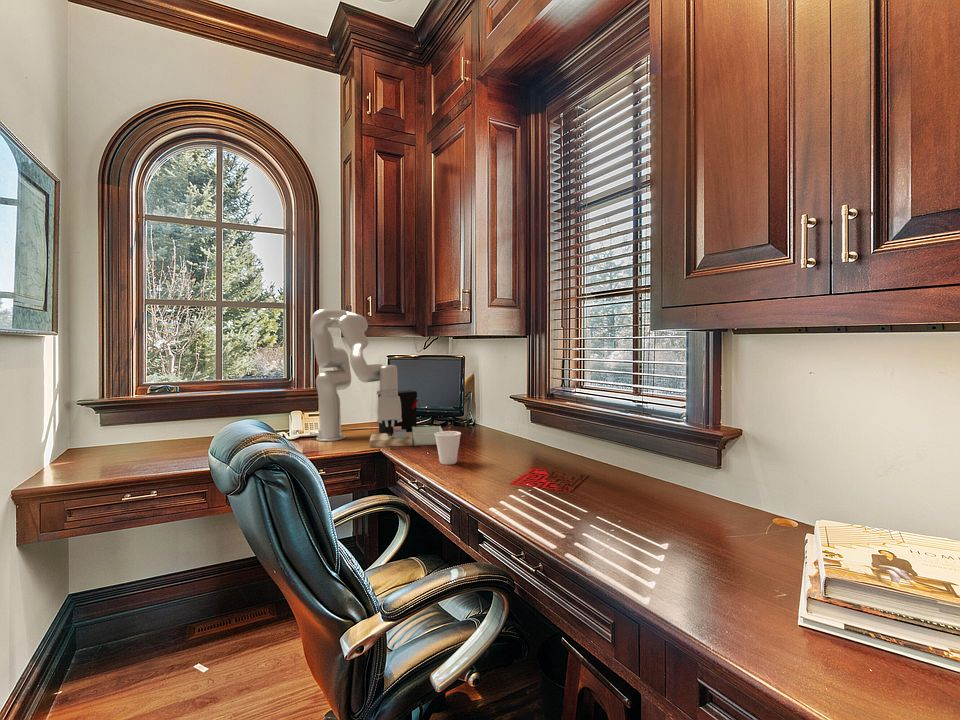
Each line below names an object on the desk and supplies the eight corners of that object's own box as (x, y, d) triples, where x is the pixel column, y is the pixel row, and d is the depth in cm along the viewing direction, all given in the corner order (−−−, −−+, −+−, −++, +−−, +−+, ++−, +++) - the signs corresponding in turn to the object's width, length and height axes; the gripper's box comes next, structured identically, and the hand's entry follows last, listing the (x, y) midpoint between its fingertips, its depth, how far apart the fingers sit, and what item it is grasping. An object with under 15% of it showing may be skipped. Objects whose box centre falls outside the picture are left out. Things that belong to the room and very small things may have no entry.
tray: (413, 445, 217) (413, 434, 217) (412, 438, 234) (412, 427, 234) (443, 444, 219) (443, 432, 219) (440, 436, 236) (440, 426, 236)
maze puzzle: (509, 485, 159) (509, 483, 159) (532, 470, 176) (532, 468, 176) (571, 493, 150) (571, 491, 150) (589, 476, 167) (589, 474, 167)
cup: (462, 459, 192) (462, 430, 191) (460, 466, 182) (460, 435, 181) (436, 459, 192) (435, 431, 191) (433, 466, 182) (432, 436, 181)
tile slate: (394, 438, 218) (394, 431, 218) (394, 436, 223) (394, 429, 223) (406, 438, 218) (405, 431, 218) (406, 436, 223) (406, 429, 223)
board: (369, 447, 215) (369, 440, 215) (371, 440, 230) (371, 433, 230) (412, 445, 218) (412, 438, 218) (411, 438, 233) (411, 432, 233)
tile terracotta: (390, 435, 225) (390, 428, 225) (390, 433, 230) (390, 426, 230) (401, 434, 226) (401, 428, 226) (401, 432, 231) (401, 426, 231)
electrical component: (408, 428, 258) (407, 389, 257) (418, 431, 250) (418, 391, 249) (377, 433, 247) (376, 392, 246) (387, 436, 239) (386, 394, 238)
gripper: (370, 395, 214) (372, 438, 215) (406, 393, 217) (407, 436, 217) (371, 393, 222) (373, 434, 222) (406, 392, 224) (407, 433, 225)
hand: (390, 435), depth 220 cm, fingers closed
